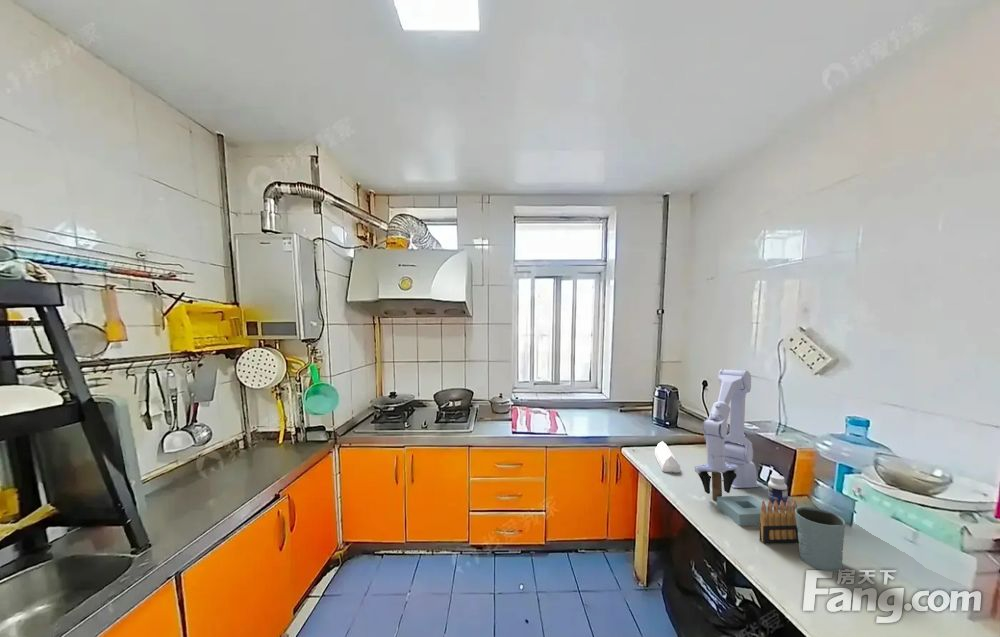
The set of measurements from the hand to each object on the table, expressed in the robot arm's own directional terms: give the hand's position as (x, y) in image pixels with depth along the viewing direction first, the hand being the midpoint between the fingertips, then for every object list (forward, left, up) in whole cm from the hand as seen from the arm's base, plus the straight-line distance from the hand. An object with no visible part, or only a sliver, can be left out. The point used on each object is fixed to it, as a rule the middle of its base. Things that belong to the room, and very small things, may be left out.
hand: (717, 492), depth 135 cm
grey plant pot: (-7, +35, -3) cm, 36 cm away
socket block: (-3, +11, -3) cm, 12 cm away
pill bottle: (-18, +5, -3) cm, 19 cm away
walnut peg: (0, 0, -3) cm, 3 cm away
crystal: (+2, -35, -3) cm, 35 cm away
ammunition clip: (-3, +26, -3) cm, 26 cm away
